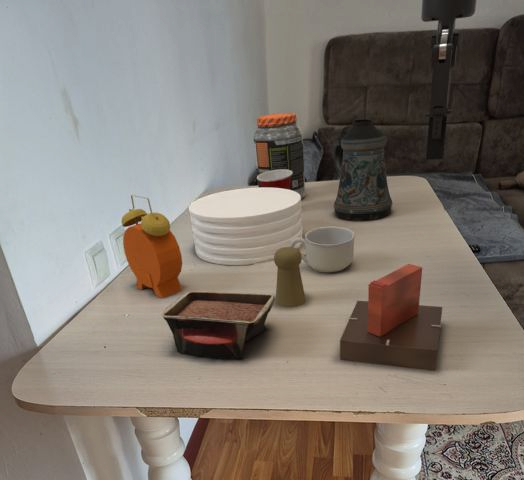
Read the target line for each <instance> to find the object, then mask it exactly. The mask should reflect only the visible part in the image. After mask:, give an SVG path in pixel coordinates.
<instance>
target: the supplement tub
mask: <svg viewBox="0 0 524 480" xmlns="http://www.w3.org/2000/svg"><path fill="white" fill-rule="evenodd" d="M297 121H298V119H297V114H296V113H294V112H287V113H285V112H284V113H273V114H267V115H266V114H265V115H261V116H258V117H257V118H256V125H257V129H256V130H255V132H254V134H253V147H254V157H255V165H256V166H255V167H256V177H257V176H258V175H260V174H262V173H264V172H268V171H272V170H281V169H284V170H291V171H292V172H293V173H292V175H291V182H290V190H292V191H295V192H297V193H298V194H300V196H301V200H302V199H303V198H304V197H305V194H306V181H305V180H306V179H305V160H304V159H305V158H304V142H303V140H304V139H303V132H302V129H301V128H300V126H299V124H298V122H297ZM259 187H261V185H260V182H259V180H258V179H257V188H259Z"/></svg>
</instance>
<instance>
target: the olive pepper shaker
mask: <svg viewBox="0 0 524 480" xmlns="http://www.w3.org/2000/svg"><path fill="white" fill-rule="evenodd" d="M301 254H302V252H301V250H300V249H299V248H298V249H297V248H295V247H283V248H280V249H278V250H277V251H276V252H275V254H274V259H273V263H274V265H275V266H276V267H277V268H276V269H277V270H276V271H277V273H276V287H275V288H276V289H275V304H276V305H277V306H279V307H281V308H282V307H283V308H296V307H300V306H302V305H303V304H305V302H306V300H307V299H306V295H305V290H304V284H303V279H302V274H301V268H300V265H301V263H302V261H303V259H302V256H301Z"/></svg>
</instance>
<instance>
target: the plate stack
mask: <svg viewBox="0 0 524 480" xmlns="http://www.w3.org/2000/svg"><path fill="white" fill-rule="evenodd" d="M301 204H302V199H301V196H300V194H298V193H297V192H295V191H292V190H288V189H282V188H269V187H259V188H258V187H246V188H245V187H244V188H236V189H229V190H225V191H218V192H215V193H212V194H208V195H205V196H202V197H200V198H198V199H195V200H194V201H192V202H191V203H190V204H189V206H188V213H189V215H190V225H191V230H192V234H193V242H194V245H195V248H194V249H195V254H196V256H197V257H198V258H199V259H201V260H203V261H204V262H207V263H211V264H216V265H223V266H247V265H254V264H255V263H260V262H266V261H271V260H274V254H275V252H276V251H277V250H278V249H280V248H283V247H290V243H291V241H292V240H293V239H294V238H296V237H301V238H304V237H303V225H302V224H303V216H302V206H301ZM302 245H303V244H302V243H300V242H297V243H295V245H294V247H295V248H297V249H298V250H299V248H300V247H301V246H302Z"/></svg>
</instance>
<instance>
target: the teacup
mask: <svg viewBox="0 0 524 480" xmlns="http://www.w3.org/2000/svg"><path fill="white" fill-rule="evenodd" d="M355 237H356V233H354V231H353V230H351V229H349V228H346V227H342V226H335V225H334V226H332V225H331V226H320V227H316V228H312V229H311V230H308V231H307V232H306V233H305V235H304V237H303V238H301V237H296V238H294V239H293V240H292V241H291V243H290V247H294V245H295V243H297V242H300V243H302V244H301V245H302V246H303V248H304V249H305V254H303V253H301V256H302V261H303V262H304V263H305V264H306V263H307V264H308V265H309V266H310V267H311V268H312V269H314V270H315V271H317V272H319V273H327V274H328V273H329V274H330V273H331V274H332V273H337V272H341V271H343V270H344V269H346V268H347V267H349V266H350V264H352V261H353V258H354V252H355Z"/></svg>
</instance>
